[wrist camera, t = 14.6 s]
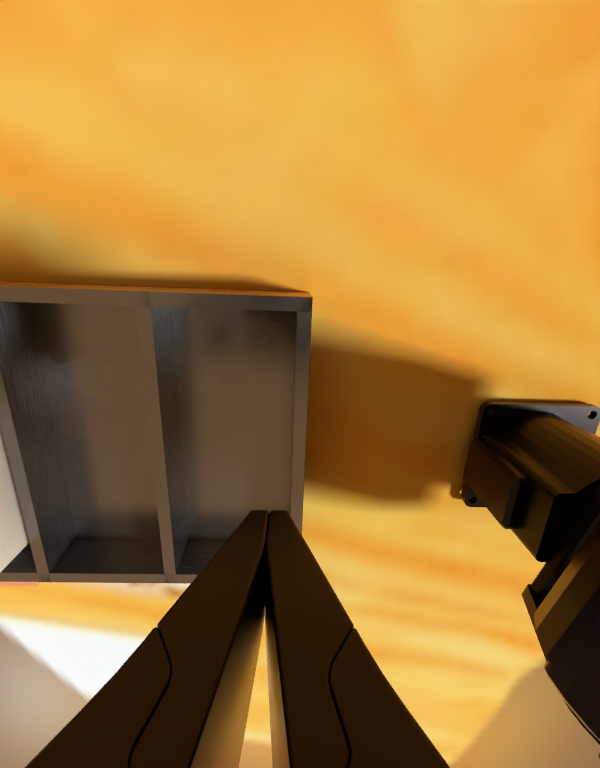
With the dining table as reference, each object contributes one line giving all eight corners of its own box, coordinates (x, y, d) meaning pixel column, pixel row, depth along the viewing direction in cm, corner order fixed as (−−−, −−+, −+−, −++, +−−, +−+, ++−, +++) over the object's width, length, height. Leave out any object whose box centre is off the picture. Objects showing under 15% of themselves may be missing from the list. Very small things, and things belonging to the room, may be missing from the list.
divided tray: (309, 292, 17) (312, 297, 14) (298, 547, 22) (299, 588, 19) (-124, 276, 17) (-210, 278, 14) (-37, 543, 21) (-88, 585, 19)
